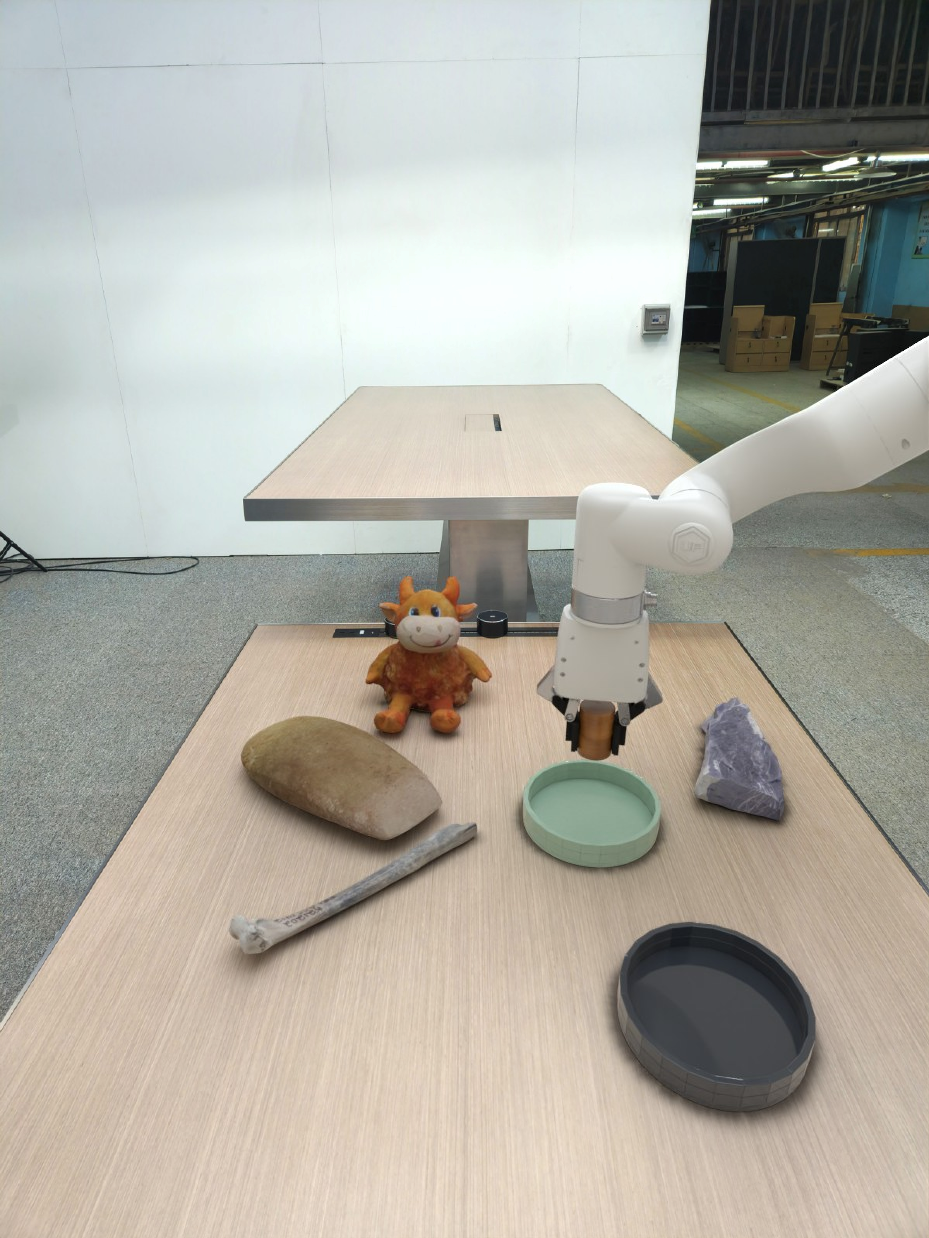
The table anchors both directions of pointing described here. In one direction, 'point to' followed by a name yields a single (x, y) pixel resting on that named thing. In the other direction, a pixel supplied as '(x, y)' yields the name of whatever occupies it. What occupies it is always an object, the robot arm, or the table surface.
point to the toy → (426, 658)
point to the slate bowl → (715, 1016)
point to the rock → (739, 764)
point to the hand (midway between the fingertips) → (594, 745)
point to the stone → (340, 775)
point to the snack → (595, 729)
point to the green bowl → (591, 813)
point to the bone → (346, 892)
